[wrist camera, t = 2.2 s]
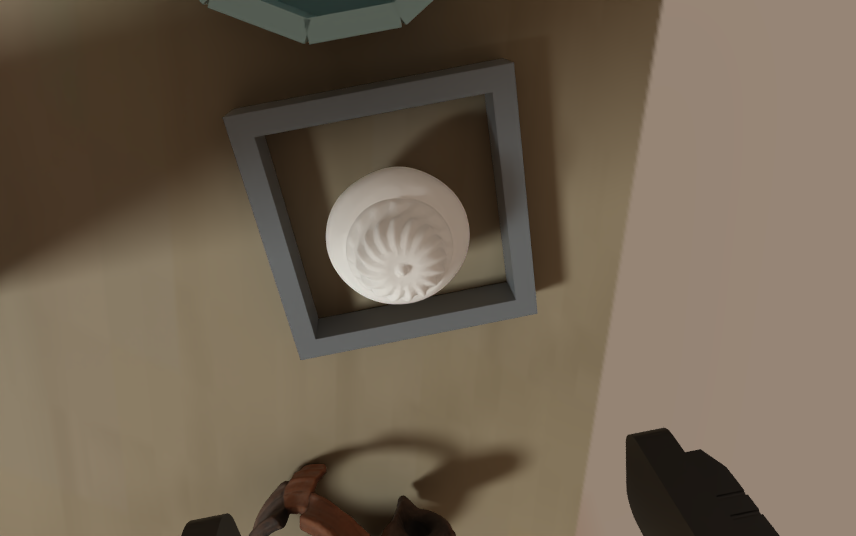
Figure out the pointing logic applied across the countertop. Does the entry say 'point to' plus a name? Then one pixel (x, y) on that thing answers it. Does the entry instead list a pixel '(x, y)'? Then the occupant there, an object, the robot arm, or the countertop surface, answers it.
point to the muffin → (397, 235)
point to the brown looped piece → (337, 512)
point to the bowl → (321, 16)
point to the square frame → (369, 100)
